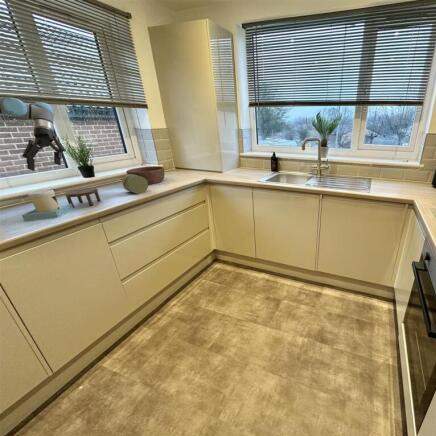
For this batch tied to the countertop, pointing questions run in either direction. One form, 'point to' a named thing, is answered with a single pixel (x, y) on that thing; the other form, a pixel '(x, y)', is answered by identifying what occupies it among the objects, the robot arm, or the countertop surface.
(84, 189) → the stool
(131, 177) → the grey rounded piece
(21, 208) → the countertop surface
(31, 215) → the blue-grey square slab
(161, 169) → the wooden bowl
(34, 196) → the coffee cup
